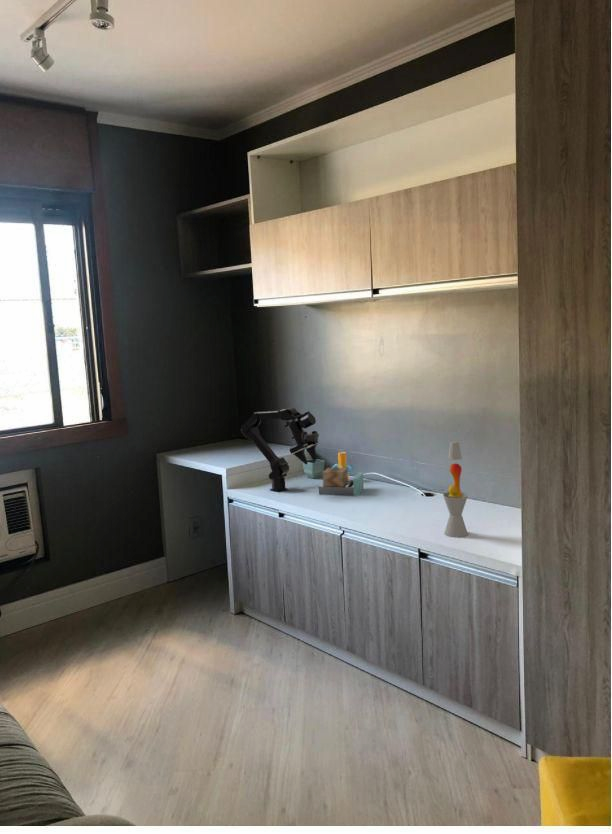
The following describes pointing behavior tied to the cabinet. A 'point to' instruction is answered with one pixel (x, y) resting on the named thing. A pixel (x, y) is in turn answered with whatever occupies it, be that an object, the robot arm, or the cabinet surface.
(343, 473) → the brown wooden block
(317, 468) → the flower pot
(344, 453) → the orange post with rings
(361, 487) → the stop bar
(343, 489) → the roller bed
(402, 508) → the cabinet surface
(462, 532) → the lava lamp
